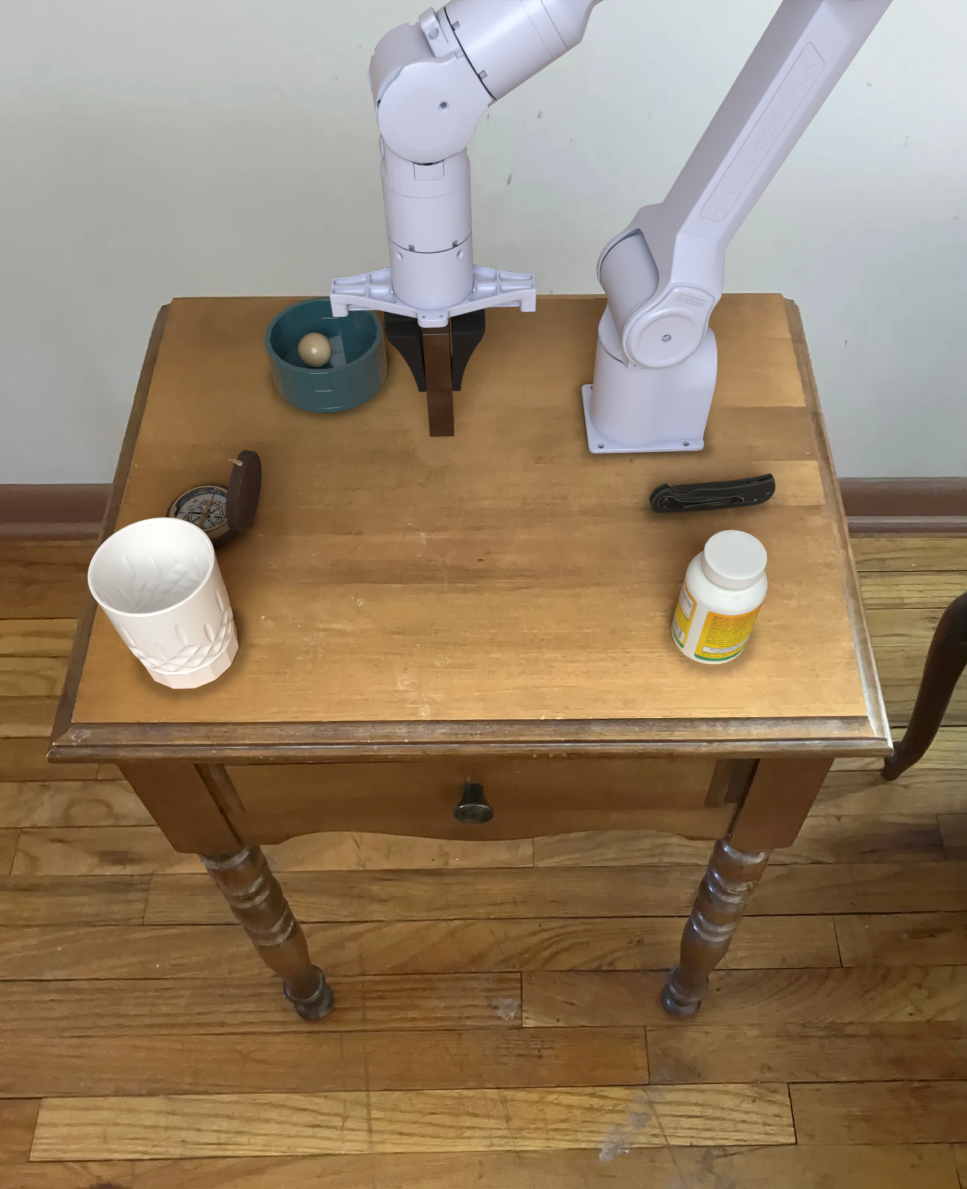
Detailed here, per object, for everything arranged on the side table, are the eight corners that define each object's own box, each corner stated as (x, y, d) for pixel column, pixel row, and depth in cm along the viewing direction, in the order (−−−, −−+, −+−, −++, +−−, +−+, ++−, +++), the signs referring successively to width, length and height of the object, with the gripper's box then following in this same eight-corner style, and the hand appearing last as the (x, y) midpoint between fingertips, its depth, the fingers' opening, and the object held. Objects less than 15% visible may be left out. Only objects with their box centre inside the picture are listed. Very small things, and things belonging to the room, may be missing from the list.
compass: (181, 487, 78) (156, 422, 73) (276, 498, 78) (258, 433, 72) (146, 565, 74) (116, 502, 68) (246, 577, 73) (224, 514, 67)
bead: (339, 333, 85) (321, 334, 83) (338, 368, 86) (321, 370, 84) (309, 330, 86) (291, 331, 84) (309, 364, 87) (291, 366, 85)
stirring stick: (454, 420, 80) (449, 317, 72) (454, 436, 78) (449, 333, 71) (430, 420, 80) (422, 317, 72) (429, 437, 78) (422, 334, 71)
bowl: (389, 335, 89) (384, 294, 86) (385, 411, 83) (380, 371, 80) (280, 338, 89) (271, 297, 86) (268, 415, 83) (258, 374, 80)
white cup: (224, 706, 67) (186, 625, 59) (117, 687, 68) (65, 604, 60) (262, 613, 71) (232, 526, 63) (161, 597, 72) (118, 508, 64)
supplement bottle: (655, 637, 69) (675, 554, 62) (699, 592, 72) (724, 507, 64) (717, 681, 67) (746, 601, 59) (761, 633, 70) (794, 550, 62)
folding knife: (767, 496, 77) (776, 470, 75) (772, 508, 76) (781, 482, 74) (646, 507, 77) (651, 481, 74) (650, 519, 76) (655, 494, 73)
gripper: (316, 267, 62) (343, 421, 73) (541, 261, 63) (534, 416, 74) (324, 204, 67) (348, 359, 78) (535, 199, 67) (530, 354, 78)
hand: (439, 383), depth 76 cm, fingers closed on stirring stick, 2 cm apart
